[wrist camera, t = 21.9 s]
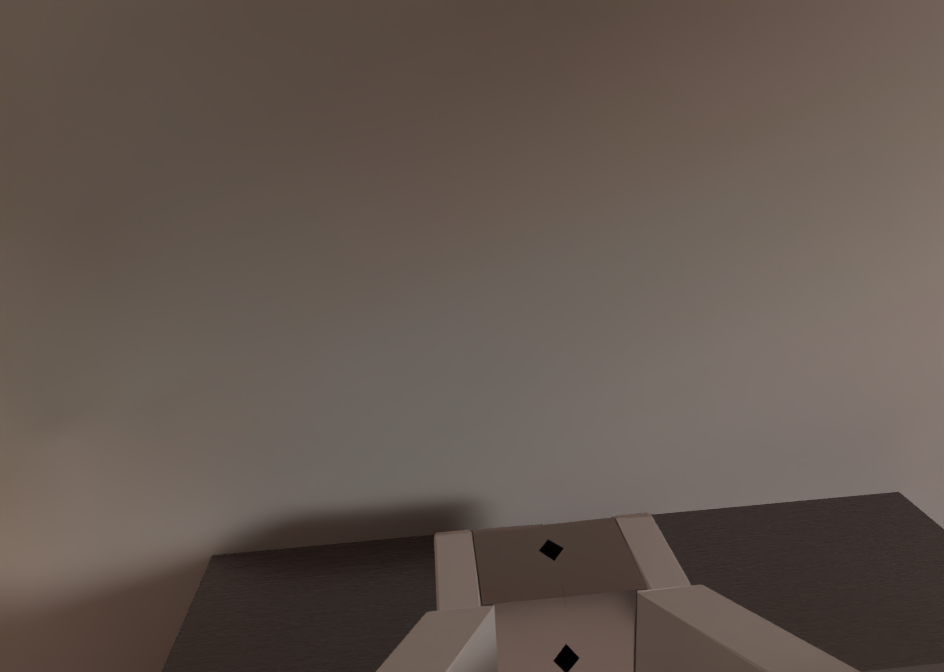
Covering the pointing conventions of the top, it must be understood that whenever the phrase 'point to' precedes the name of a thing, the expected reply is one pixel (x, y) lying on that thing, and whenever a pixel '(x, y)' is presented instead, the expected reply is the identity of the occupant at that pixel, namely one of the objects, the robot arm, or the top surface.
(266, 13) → the top surface
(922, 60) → the top surface
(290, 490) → the top surface
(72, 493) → the top surface
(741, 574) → the metal bookend
